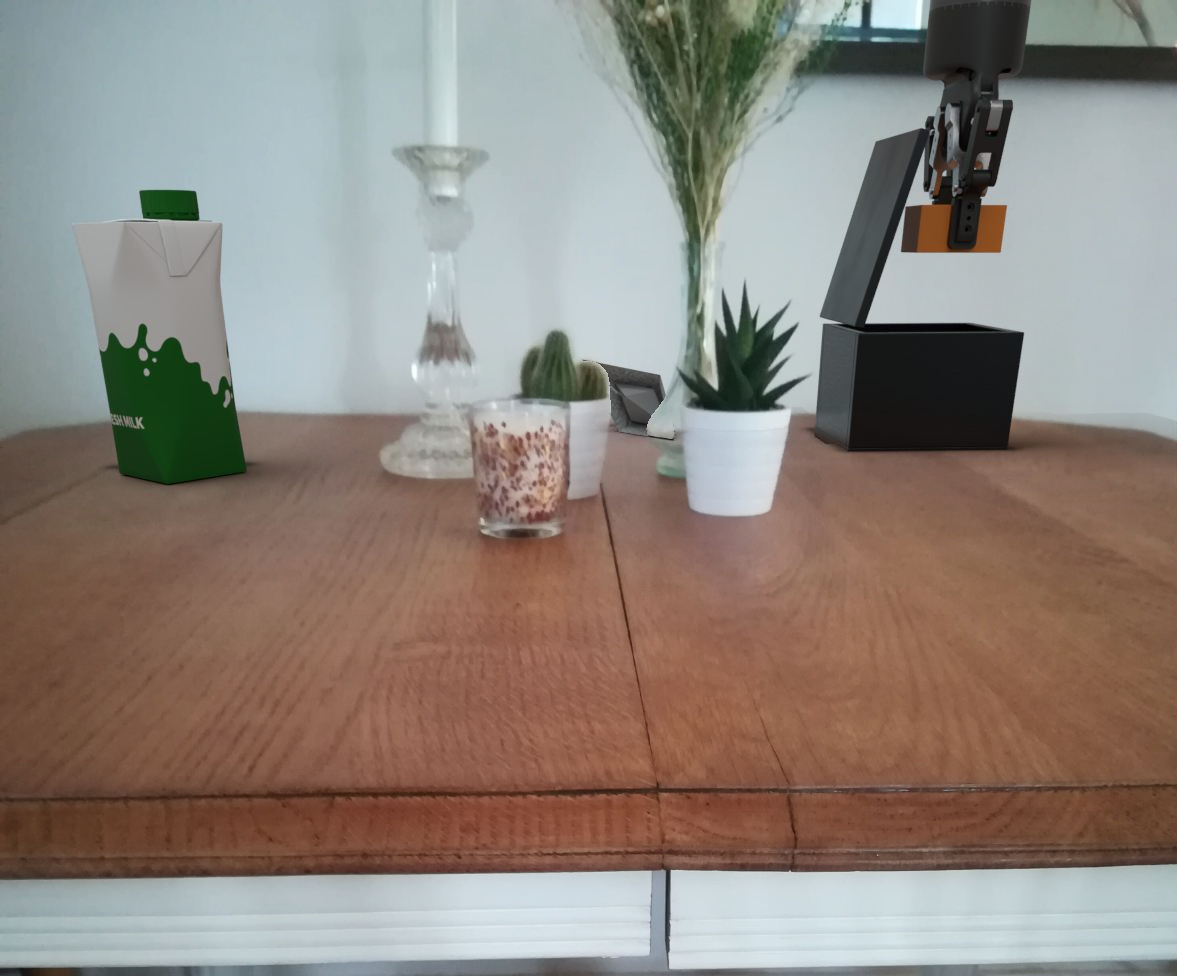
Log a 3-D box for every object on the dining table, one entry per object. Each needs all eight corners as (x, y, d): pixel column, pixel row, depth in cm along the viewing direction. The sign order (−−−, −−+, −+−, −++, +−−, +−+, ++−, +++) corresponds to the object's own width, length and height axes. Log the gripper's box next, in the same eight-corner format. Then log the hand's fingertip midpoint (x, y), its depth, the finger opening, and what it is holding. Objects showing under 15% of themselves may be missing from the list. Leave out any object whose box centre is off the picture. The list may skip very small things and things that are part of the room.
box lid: (884, 143, 99) (875, 141, 99) (930, 130, 87) (920, 127, 87) (827, 319, 105) (819, 317, 104) (863, 328, 93) (854, 326, 93)
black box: (956, 434, 109) (971, 322, 105) (1006, 456, 98) (1024, 332, 94) (814, 435, 109) (822, 323, 105) (847, 458, 97) (858, 333, 93)
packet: (981, 252, 99) (987, 206, 98) (1000, 252, 95) (1007, 204, 94) (900, 252, 99) (905, 206, 97) (916, 252, 95) (921, 204, 93)
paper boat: (716, 418, 111) (687, 402, 102) (675, 474, 113) (643, 462, 105) (625, 344, 113) (590, 322, 105) (587, 399, 116) (549, 382, 107)
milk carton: (263, 471, 92) (230, 190, 84) (160, 488, 86) (113, 185, 78) (201, 459, 98) (164, 193, 89) (100, 474, 91) (50, 189, 83)
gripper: (1066, -13, 83) (1027, 250, 90) (993, 22, 96) (965, 249, 103) (963, -14, 83) (932, 249, 90) (904, 21, 96) (882, 249, 103)
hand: (950, 248), depth 97 cm, fingers closed on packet, 4 cm apart
